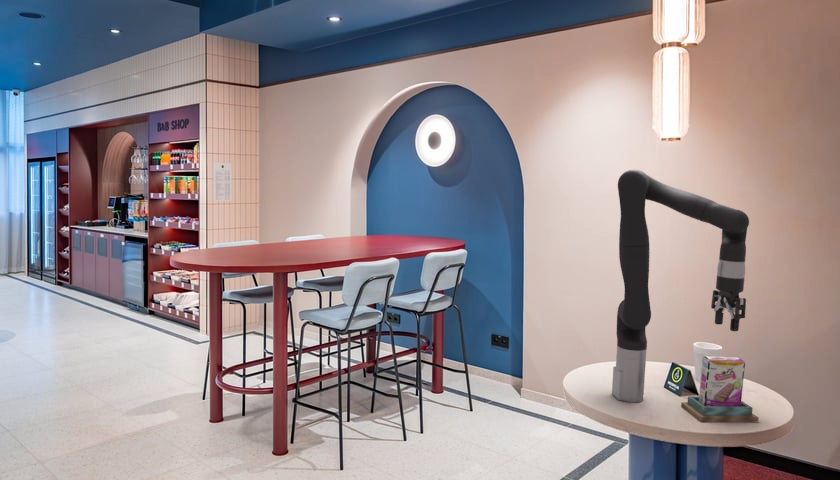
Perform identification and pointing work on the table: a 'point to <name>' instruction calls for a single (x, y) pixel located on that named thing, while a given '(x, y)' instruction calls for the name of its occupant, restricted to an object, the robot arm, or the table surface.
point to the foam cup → (704, 350)
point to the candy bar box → (721, 381)
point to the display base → (719, 412)
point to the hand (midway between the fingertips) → (726, 327)
